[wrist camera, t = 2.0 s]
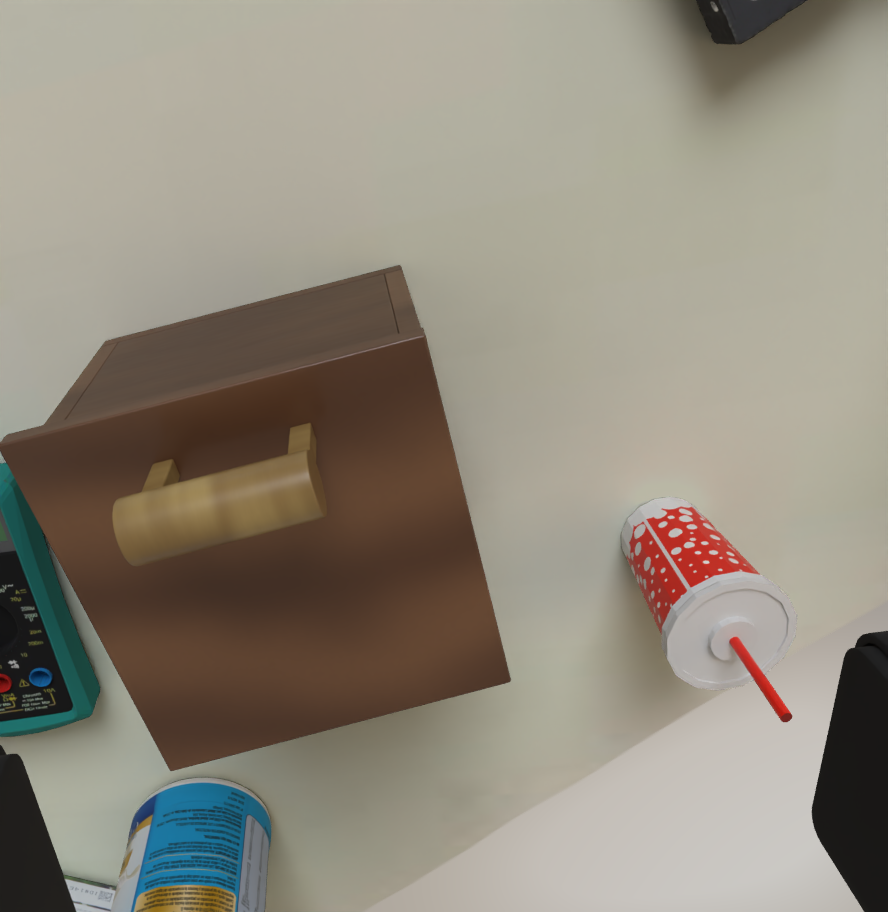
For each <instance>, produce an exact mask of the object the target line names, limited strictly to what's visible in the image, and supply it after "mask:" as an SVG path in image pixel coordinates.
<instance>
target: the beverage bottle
mask: <svg viewBox="0 0 888 912" xmlns="http://www.w3.org/2000/svg"><path fill="white" fill-rule="evenodd" d="M270 842H271V819H270V816H269V813H268V811H267V809H266V807H265V805H264V804H263V802H262V801H261V800H260V799H259V798H258V797H257V796H256V795H255V794H254V793H253V792H251V791H250V790H248V789H247V788H245V787H243V786H241V785H239V784H237V783H234V782H231V781H227V780H223V779H218V778H190V779H184V780H180V781H177V782H174V783H171V784H168V785H166V786H164V787H162V788H160V789H158V790H157V791H155V792H154V793H153V794H151V795H150V796H149V797H148V798H147V799H146V800H145V801H144V802H143V803H142V804H141V805H140V807H139V808H138V810H137V812H136V813H135V816H134V818H133V821H132V825H131V828H130V833H129V838H128V844H127V848H126V852H125V856H124V860H123V864H122V868H121V872H120V876H119V880H118V884H117V888H116V892H115V896H114V900H113V904H112V907H111V911H110V912H265V903H266V886H267V870H268V853H269V849H270Z"/></svg>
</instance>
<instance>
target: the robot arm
mask: <svg viewBox="0 0 888 912" xmlns="http://www.w3.org/2000/svg"><path fill="white" fill-rule="evenodd" d="M812 819H813V824H814V828H815V831H816V833H817V836H818V838H819V840H820V842H821V844H822V845H823V847H824V848H825V850H826V851H827V853H828V855H829V856H830V858H831V859H832V861H833V863H834V864H835V866H836V867H837V869H838V871H839V872H840V874H841V875H842V877H843V879H844V880H845V882H846V883H847V885H848V886H849V888H850V890H851V891H852V893H853V894H854V896H855V898H856V899H857V901H858V902H859V904H860V906H861V907H862V909H863V910H864V912H888V631H884V632H875V633H868V634H864V635H862V636H861V637H860V638H859V639H858V640H857V643H856V645H855V648H851V649H849V650H848V651H847V652H846V654H845V657H844V661H843V665H842V670H841V675H840V679H839V684H838V689H837V694H836V698H835V703H834V708H833V712H832V717H831V721H830V726H829V731H828V735H827V740H826V745H825V749H824V754H823V759H822V763H821V768H820V773H819V777H818V782H817V787H816V791H815V796H814V801H813V805H812ZM0 912H76V909H75V906H74V903H73V901H72V898H71V895H70V892H69V889H68V887H67V884H66V881H65V878H64V875H63V873H62V870H61V867H60V864H59V861H58V859H57V856H56V853H55V850H54V847H53V845H52V842H51V839H50V836H49V833H48V831H47V828H46V825H45V822H44V819H43V817H42V814H41V811H40V808H39V805H38V803H37V800H36V797H35V794H34V792H33V789H32V786H31V783H30V780H29V778H28V775H27V772H26V769H25V766H24V764H23V761H22V759H21V757H20V756H19V755H18V754H8V755H6V753H5V751H4V749H3V747H2V746H1V745H0Z"/></svg>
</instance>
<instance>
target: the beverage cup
mask: <svg viewBox="0 0 888 912" xmlns="http://www.w3.org/2000/svg"><path fill="white" fill-rule="evenodd" d="M621 547H622V550H623V552H624V554H625V556H626V558H627V561H628V563H629V565H630V567H631V569H632V571H633V574H634V576H635V578H636V580H637V582H638V585H639V587H640V589H641V591H642V593H643V595H644V598H645V600H646V602H647V604H648V606H649V609H650V611H651V613H652V615H653V617H654V619H655V622H656V624H657V626H658V628H659V630H660V633H661V635H662V649H663V651H664V653H665V656H666V658H667V660H668V662H669V663H670V665H671V667H672V669H673V670H674V672H675V674H676V676H677V677H679V678H680V679H682V680H683V681H685V682H687V683H688V684H690V685H691V686H693V687H696V688H703V689H709V690H716V691H718V690H724V689H729V688H735V687H740V686H743V685H745V684H747V683H749V682H751V681H753V680H755V682H756V684H757V685H758V686H759V688H760V690H761V691H762V692H763V694H764V695H765V697H766V699H767V700H768V702H769V703H770V705H771V706H772V707H773V709H774V711H775V712H776V713H777V715H778V716H779V718H780V719H781V721H783V722H788V721H790V720H791V718H792V715H791V713H790V711H789V710H788V709H787V707H786V706H785V704H784V703H783V701H782V700H781V698H780V697H779V695H778V694H777V693H776V691H775V690H774V688H773V687H772V685H771V684H770V682H769V681H768V680H767V678H766V677H765V674H766V673H767V672H769V670H771V669H772V668H773V667H774V666H775V665H776V664H777V663H778V662H780V661H781V660H782V659H783V658H784V657H785V655H786V653H787V651H788V649H789V647H790V646H791V644H792V642H793V640H794V638H795V636H796V625H797V614H796V612H795V609H794V607H793V605H792V602H791V600H790V598H789V597H788V595H787V594H786V593H784V592H783V591H782V590H781V588H780V587H779V586H777V585H776V584H775V583H773V582H772V581H770V580H769V579H768V578H766V577H765V576H763V575H760V574H759V573H758V572H757V571H756V570H755V569H754V568H753V567H752V566H751V565H750V563H749V562H748V561H747V560H746V559H745V558H744V557H743V556H742V555H741V554H740V553H739V552H738V551H737V550H736V549H735V548H734V547H733V546H732V545H731V544H730V543H729V542H728V541H727V540H726V538H725V537H724V536H723V535H722V534H721V533H720V532H719V531H718V530H717V529H716V528H715V527H714V526H713V525H712V524H711V523H710V522H709V521H708V520H707V519H706V518H705V517H704V516H703V515H702V513H701V512H700V511H699V510H698V509H697V508H696V507H694V506H693V505H692V504H690V503H689V502H687V501H686V500H684V499H679V498H674V497H665V498H659V499H653V500H651V501H650V502H648V503H646V504H644V505H642V506H640V507H638V508H637V510H636V511H635V512H634V513H633V514H632V515H631V516H630V517H629V518H628V519H627V521H626V523H625V526H624V528H623V530H622V533H621Z"/></svg>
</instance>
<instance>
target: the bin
mask: <svg viewBox="0 0 888 912" xmlns="http://www.w3.org/2000/svg"><path fill="white" fill-rule="evenodd" d="M417 328H421V326H420V323H419V320H418V317H417V314H416V311H415V308H414V305H413V302H412V299H411V296H410V293H409V290H408V286H407V283H406V280H405V277H404V274H403V271H402V268H401V266H400V265H398V266H394V267H391V268H387V269H383V270H379V271H375V272H371V273H367V274H363V275H360V276H356V277H352V278H348V279H344V280H340V281H336V282H332V283H329V284H325V285H321V286H317V287H313V288H309V289H305V290H301V291H298V292H294V293H290V294H286V295H282V296H278V297H274V298H270V299H267V300H263V301H259V302H255V303H251V304H247V305H243V306H239V307H236V308H232V309H228V310H224V311H220V312H216V313H212V314H208V315H205V316H201V317H197V318H193V319H189V320H185V321H181V322H177V323H173V324H170V325H166V326H162V327H158V328H154V329H150V330H146V331H142V332H139V333H135V334H131V335H127V336H123V337H119V338H115V339H111V340H108V341H105V342H104V344H103V345H102V346H101V348H100V349H99V350H98V352H97V353H96V354H95V356H94V357H93V359H92V360H91V361H90V363H89V364H88V365H87V367H86V368H85V369H84V371H83V372H82V374H81V375H80V376H79V378H78V379H77V380H76V382H75V383H74V385H73V386H72V387H71V389H70V390H69V391H68V393H67V394H66V395H65V397H64V398H63V400H62V401H61V402H60V404H59V405H58V406H57V408H56V409H55V410H54V412H53V413H52V415H51V416H50V417H49V419H48V420H47V421H46V423H45V424H44V425H46V424H50V423H54V422H58V421H62V420H66V419H70V418H73V417H77V416H81V415H85V414H89V413H93V412H97V411H100V410H104V409H108V408H112V407H116V406H120V405H124V404H127V403H131V402H135V401H139V400H143V399H147V398H151V397H155V396H158V395H162V394H166V393H170V392H174V391H178V390H182V389H185V388H189V387H193V386H197V385H201V384H205V383H209V382H213V381H216V380H220V379H224V378H228V377H232V376H236V375H240V374H243V373H247V372H251V371H255V370H259V369H263V368H267V367H271V366H274V365H278V364H282V363H286V362H290V361H294V360H298V359H301V358H305V357H309V356H313V355H317V354H321V353H325V352H328V351H332V350H336V349H340V348H344V347H348V346H352V345H356V344H359V343H363V342H367V341H371V340H375V339H379V338H383V337H386V336H390V335H394V334H398V333H402V332H406V331H410V330H414V329H417Z"/></svg>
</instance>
